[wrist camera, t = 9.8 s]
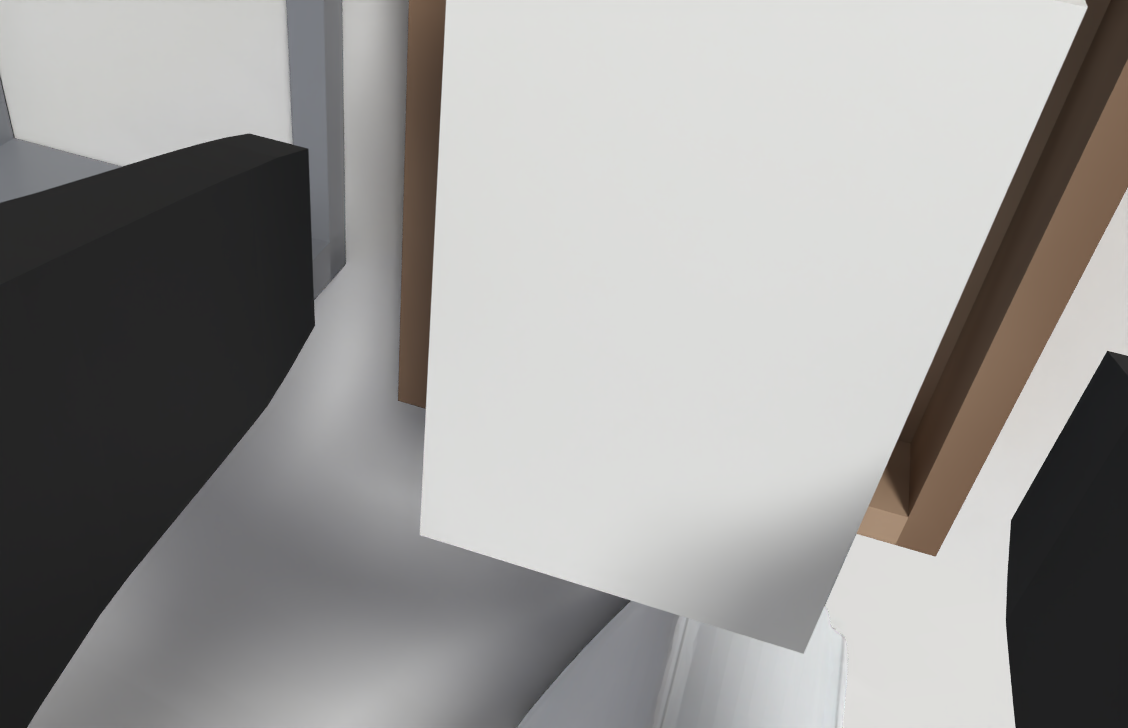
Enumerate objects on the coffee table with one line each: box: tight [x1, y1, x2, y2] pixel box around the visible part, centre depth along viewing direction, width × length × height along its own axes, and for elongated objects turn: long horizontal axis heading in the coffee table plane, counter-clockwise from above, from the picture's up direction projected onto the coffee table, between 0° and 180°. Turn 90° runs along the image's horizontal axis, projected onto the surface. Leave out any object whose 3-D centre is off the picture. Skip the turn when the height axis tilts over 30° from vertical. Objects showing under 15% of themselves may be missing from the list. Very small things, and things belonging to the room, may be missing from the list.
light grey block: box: [420, 0, 1088, 654], centre depth 12 cm, size 4×7×6 cm, turn 173°
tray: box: [398, 0, 1128, 556], centre depth 14 cm, size 9×11×2 cm
